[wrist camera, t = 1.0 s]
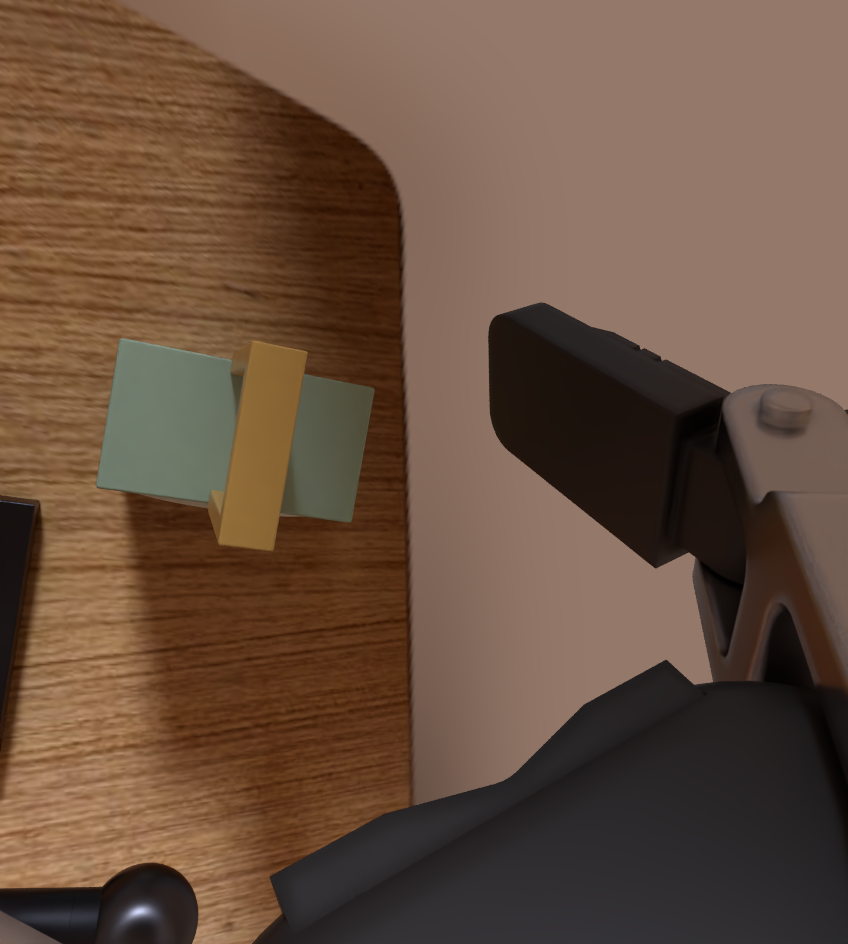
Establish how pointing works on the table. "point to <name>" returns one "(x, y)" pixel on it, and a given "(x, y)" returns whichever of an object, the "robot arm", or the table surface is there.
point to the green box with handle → (235, 437)
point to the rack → (133, 889)
